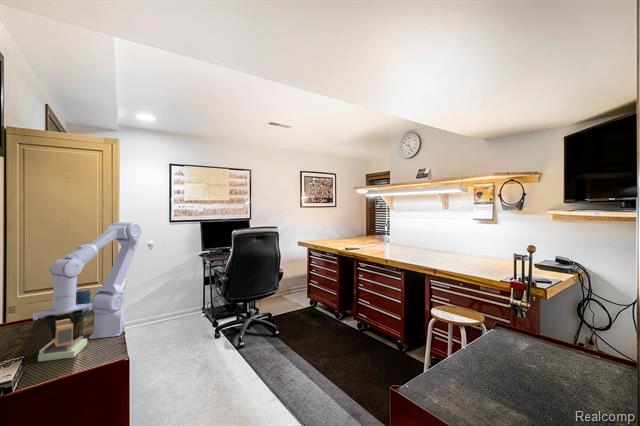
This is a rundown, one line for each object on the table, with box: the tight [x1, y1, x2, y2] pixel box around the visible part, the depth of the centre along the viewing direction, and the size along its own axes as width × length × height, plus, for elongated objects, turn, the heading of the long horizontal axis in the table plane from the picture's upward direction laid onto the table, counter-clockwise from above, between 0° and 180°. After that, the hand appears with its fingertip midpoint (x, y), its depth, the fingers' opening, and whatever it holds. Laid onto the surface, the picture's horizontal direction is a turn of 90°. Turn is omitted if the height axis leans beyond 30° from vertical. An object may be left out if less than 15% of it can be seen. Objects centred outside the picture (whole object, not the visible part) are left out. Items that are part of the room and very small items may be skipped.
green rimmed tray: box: [37, 335, 88, 362], centre depth 94 cm, size 9×10×3 cm
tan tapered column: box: [52, 318, 74, 347], centre depth 94 cm, size 4×9×6 cm, turn 49°
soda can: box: [68, 287, 92, 320], centre depth 125 cm, size 7×7×12 cm
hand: (62, 335), depth 94 cm, fingers closed on tan tapered column, 4 cm apart
